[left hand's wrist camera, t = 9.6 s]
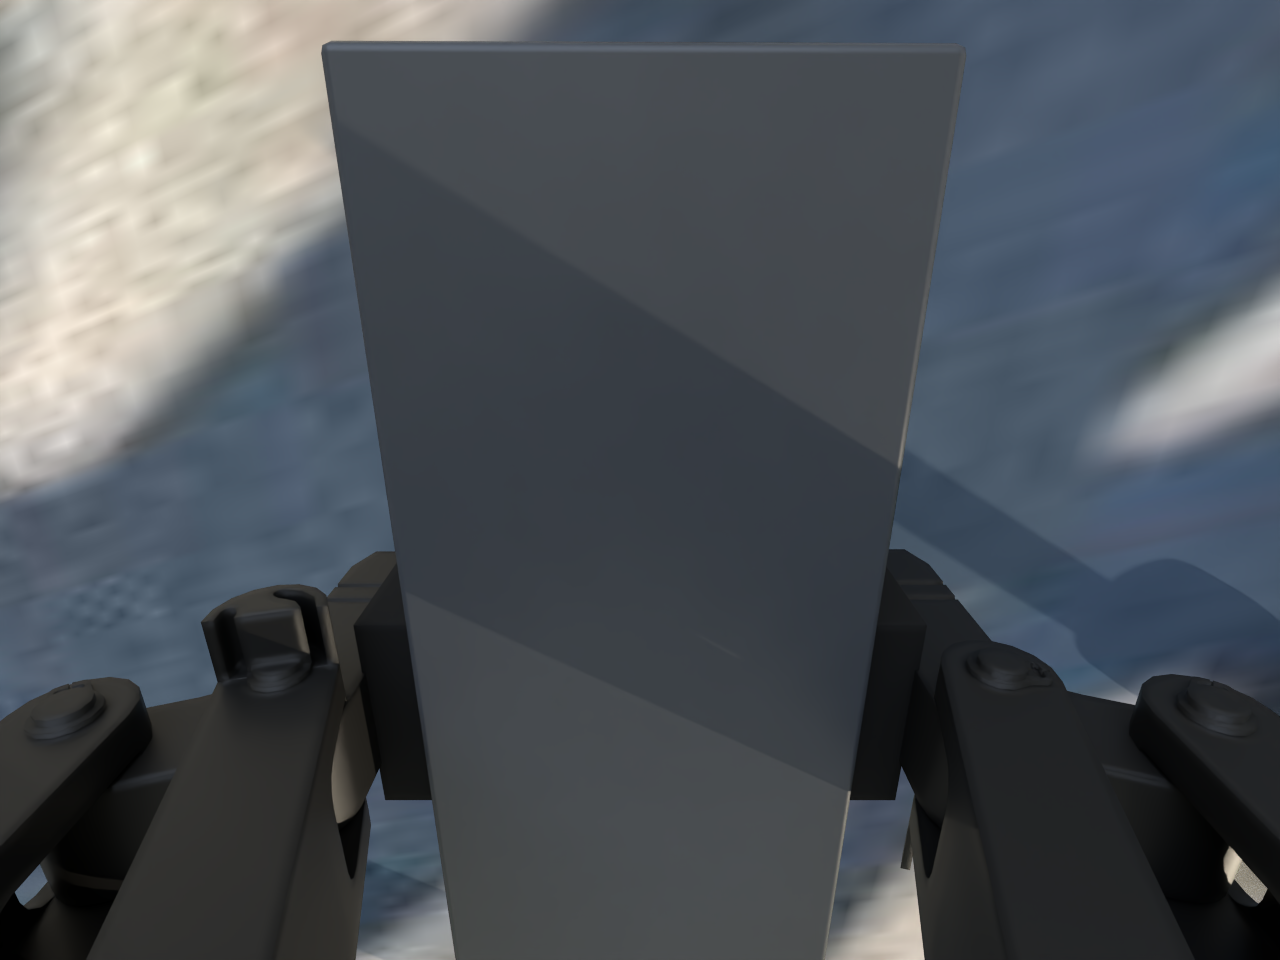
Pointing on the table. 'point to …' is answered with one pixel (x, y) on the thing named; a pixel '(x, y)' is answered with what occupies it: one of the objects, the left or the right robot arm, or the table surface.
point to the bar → (642, 459)
